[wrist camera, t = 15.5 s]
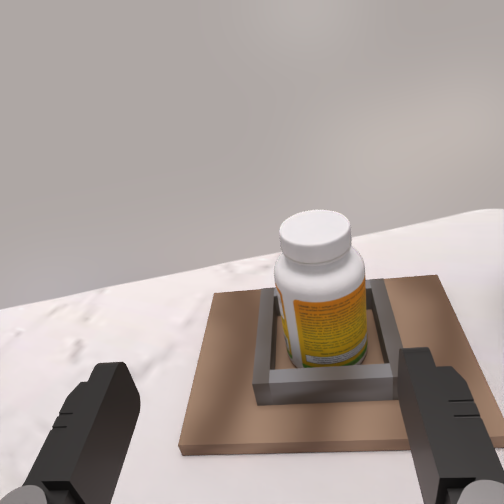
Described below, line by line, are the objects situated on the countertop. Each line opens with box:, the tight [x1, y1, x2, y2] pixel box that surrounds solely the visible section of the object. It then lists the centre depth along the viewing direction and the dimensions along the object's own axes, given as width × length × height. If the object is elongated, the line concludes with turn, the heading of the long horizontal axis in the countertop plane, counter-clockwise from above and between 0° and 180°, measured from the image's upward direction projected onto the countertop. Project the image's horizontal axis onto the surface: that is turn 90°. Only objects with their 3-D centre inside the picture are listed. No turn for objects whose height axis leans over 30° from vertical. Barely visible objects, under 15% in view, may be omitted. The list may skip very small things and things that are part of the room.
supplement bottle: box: [274, 210, 368, 368], centre depth 27 cm, size 5×5×10 cm
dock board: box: [178, 275, 504, 455], centre depth 29 cm, size 18×14×3 cm
